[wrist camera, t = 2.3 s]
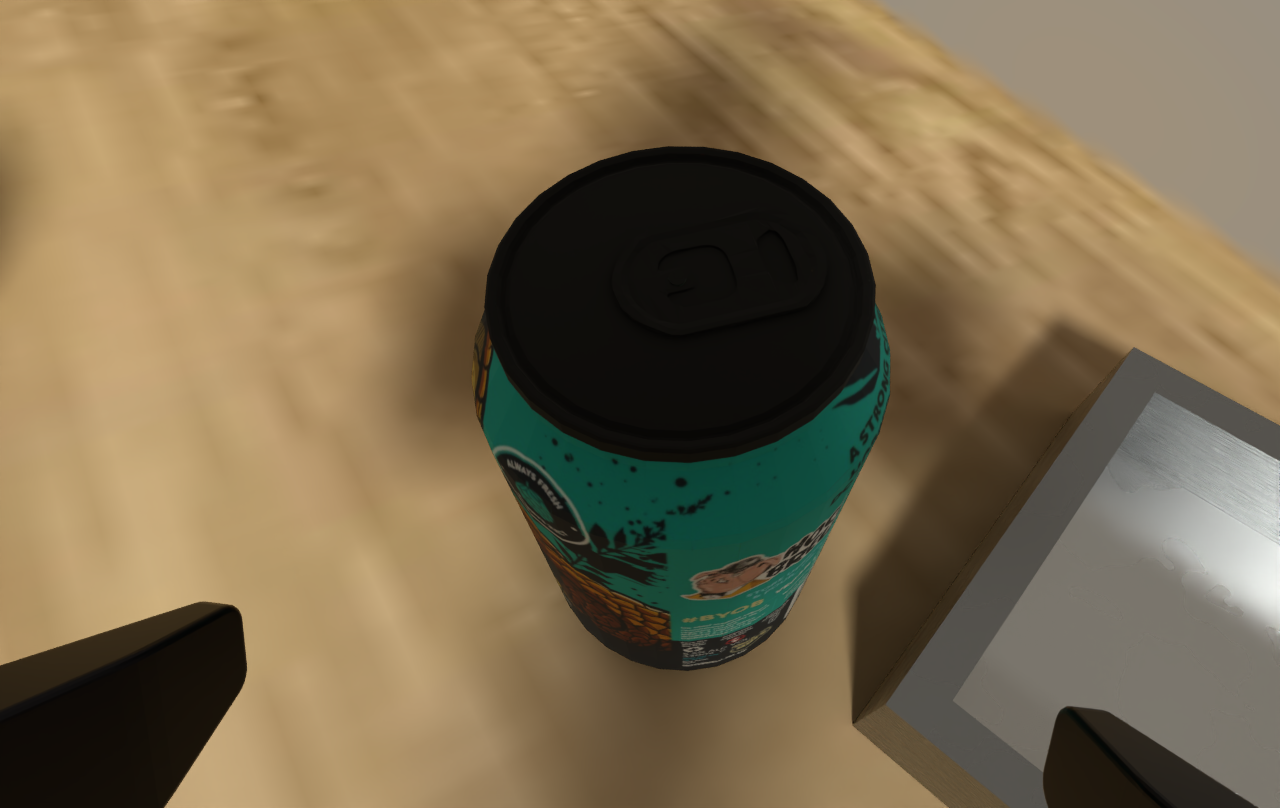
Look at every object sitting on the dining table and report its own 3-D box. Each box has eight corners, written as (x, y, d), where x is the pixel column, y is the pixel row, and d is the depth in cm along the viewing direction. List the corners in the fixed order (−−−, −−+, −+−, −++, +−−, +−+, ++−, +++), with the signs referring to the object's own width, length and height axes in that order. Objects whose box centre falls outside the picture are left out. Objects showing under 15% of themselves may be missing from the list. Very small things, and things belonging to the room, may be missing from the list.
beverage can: (540, 469, 23) (419, 164, 12) (757, 417, 23) (818, 83, 13) (585, 707, 19) (472, 560, 9) (840, 638, 20) (1016, 424, 9)
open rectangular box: (1536, 684, 18) (1705, 654, 15) (1380, 1175, 14) (1569, 1269, 11) (1073, 411, 23) (1133, 347, 20) (852, 725, 19) (885, 704, 16)
